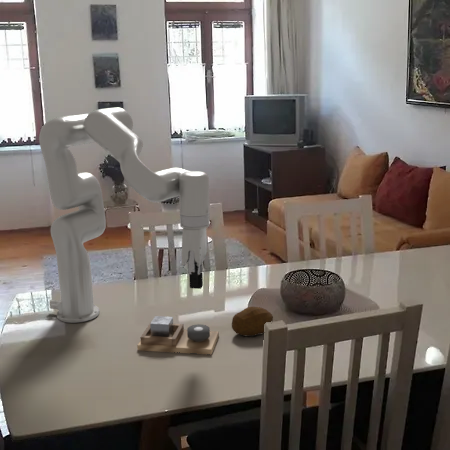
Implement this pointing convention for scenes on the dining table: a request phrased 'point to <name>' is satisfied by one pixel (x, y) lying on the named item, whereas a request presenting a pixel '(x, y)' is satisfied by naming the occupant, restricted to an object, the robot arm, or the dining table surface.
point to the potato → (251, 321)
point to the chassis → (177, 342)
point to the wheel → (198, 332)
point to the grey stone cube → (162, 326)
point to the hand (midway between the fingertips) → (196, 287)
